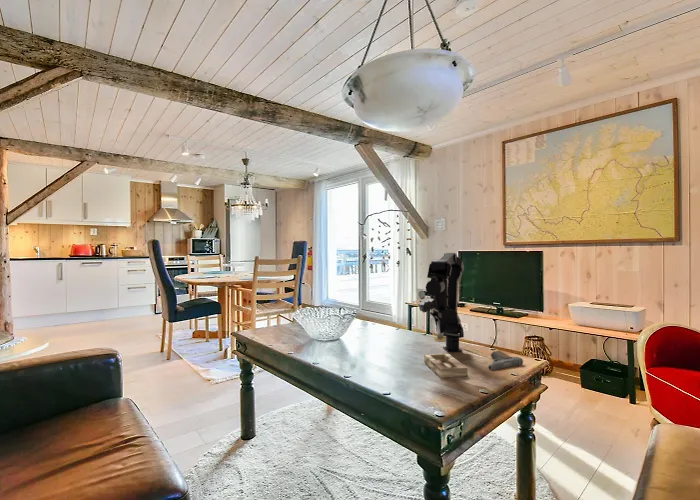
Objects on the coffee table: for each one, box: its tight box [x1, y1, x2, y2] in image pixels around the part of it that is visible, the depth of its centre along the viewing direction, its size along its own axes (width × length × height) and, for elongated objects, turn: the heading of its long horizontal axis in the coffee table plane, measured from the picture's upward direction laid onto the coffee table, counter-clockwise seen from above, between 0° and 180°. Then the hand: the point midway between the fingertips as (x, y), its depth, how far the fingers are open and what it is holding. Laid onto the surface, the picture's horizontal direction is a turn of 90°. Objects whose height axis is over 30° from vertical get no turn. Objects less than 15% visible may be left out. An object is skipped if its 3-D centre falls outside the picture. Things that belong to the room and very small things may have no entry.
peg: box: [434, 321, 446, 343], centre depth 140 cm, size 4×4×8 cm
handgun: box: [488, 350, 524, 371], centre depth 142 cm, size 3×16×12 cm
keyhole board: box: [423, 352, 469, 379], centre depth 136 cm, size 17×10×3 cm, turn 8°
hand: (440, 332), depth 140 cm, fingers closed on peg, 2 cm apart
